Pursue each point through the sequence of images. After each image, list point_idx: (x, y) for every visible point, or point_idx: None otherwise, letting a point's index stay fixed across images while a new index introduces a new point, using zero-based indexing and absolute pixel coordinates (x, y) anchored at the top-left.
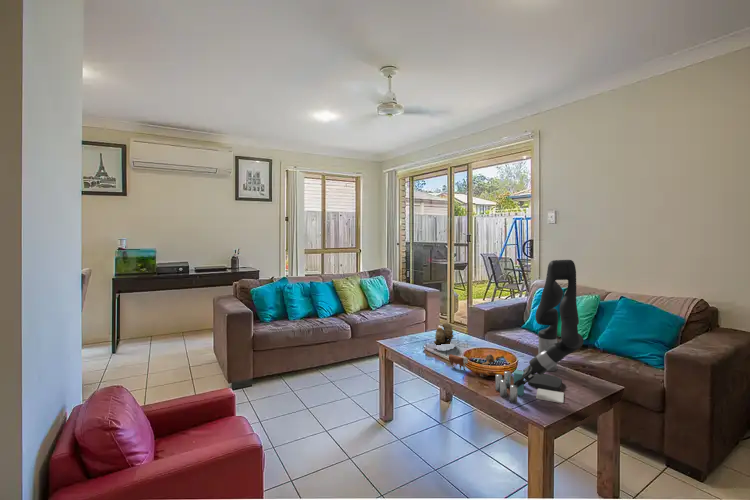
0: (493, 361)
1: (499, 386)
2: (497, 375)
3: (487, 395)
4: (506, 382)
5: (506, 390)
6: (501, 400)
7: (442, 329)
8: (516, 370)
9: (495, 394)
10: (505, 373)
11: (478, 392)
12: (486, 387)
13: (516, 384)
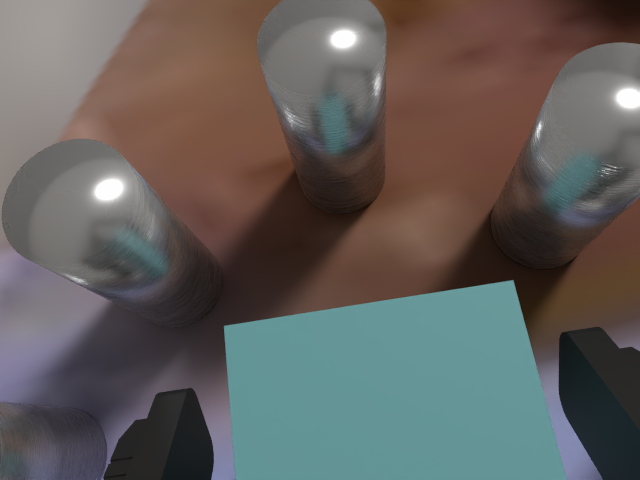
0: None
1: (295, 165)
2: (298, 24)
3: (105, 128)
4: (53, 269)
5: (129, 307)
6: (35, 307)
7: None
8: (511, 333)
9: (177, 189)
10: (548, 96)
11: (139, 29)
12: None
13: (119, 467)
